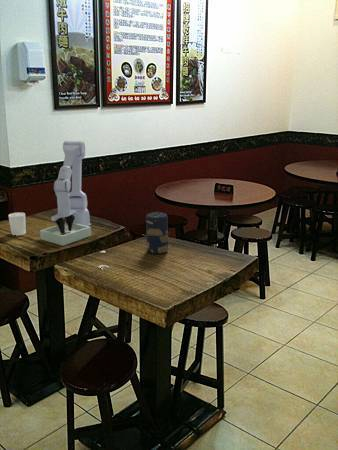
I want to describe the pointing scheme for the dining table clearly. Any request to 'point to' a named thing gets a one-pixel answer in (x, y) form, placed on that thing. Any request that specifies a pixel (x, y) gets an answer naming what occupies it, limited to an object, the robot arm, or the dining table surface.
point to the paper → (102, 265)
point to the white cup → (17, 223)
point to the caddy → (74, 235)
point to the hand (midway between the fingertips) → (65, 231)
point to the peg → (66, 229)
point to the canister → (157, 232)
